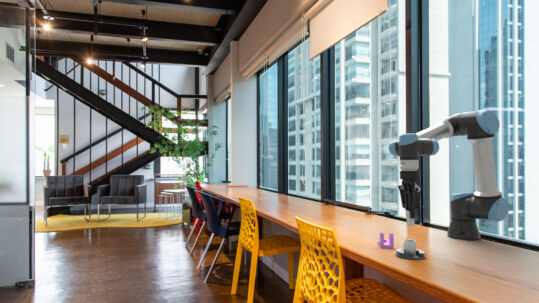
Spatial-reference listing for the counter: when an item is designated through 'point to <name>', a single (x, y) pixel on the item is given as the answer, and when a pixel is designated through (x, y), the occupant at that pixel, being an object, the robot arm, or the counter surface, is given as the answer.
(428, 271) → the counter surface
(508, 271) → the counter surface
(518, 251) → the counter surface
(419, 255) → the barrel ring
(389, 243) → the bracket
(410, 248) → the grey cylinder
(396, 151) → the robot arm
